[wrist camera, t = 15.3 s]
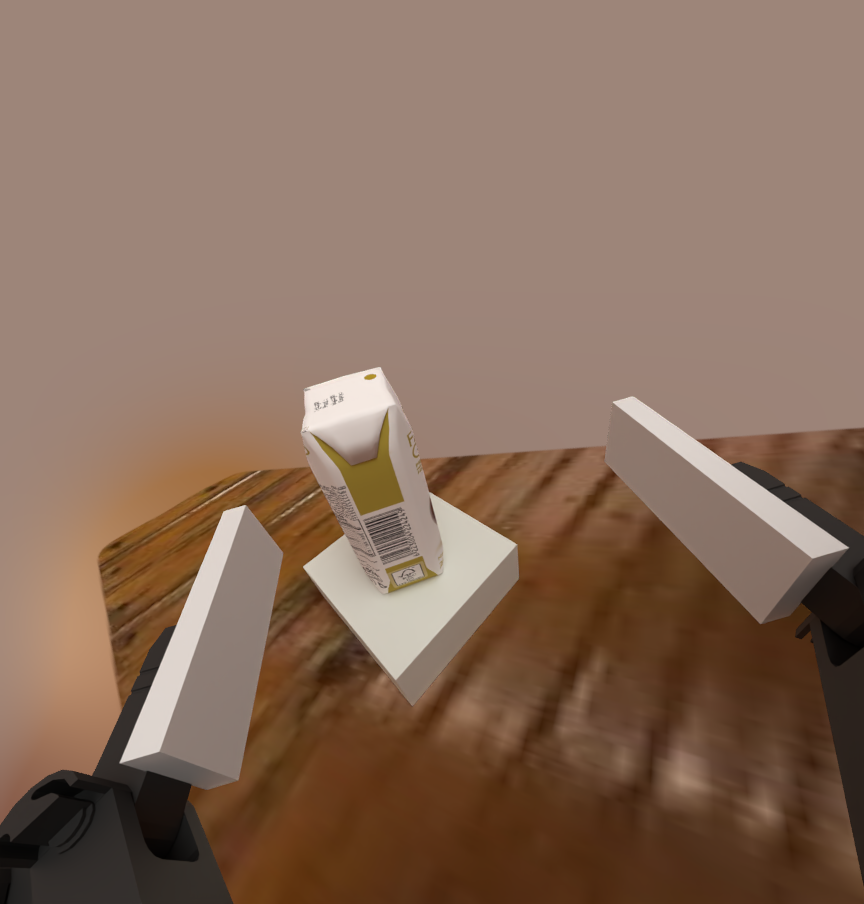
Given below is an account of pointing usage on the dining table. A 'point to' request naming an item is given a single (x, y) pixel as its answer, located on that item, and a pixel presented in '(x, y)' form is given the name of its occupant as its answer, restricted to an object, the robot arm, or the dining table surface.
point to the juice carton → (373, 477)
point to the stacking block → (421, 599)
